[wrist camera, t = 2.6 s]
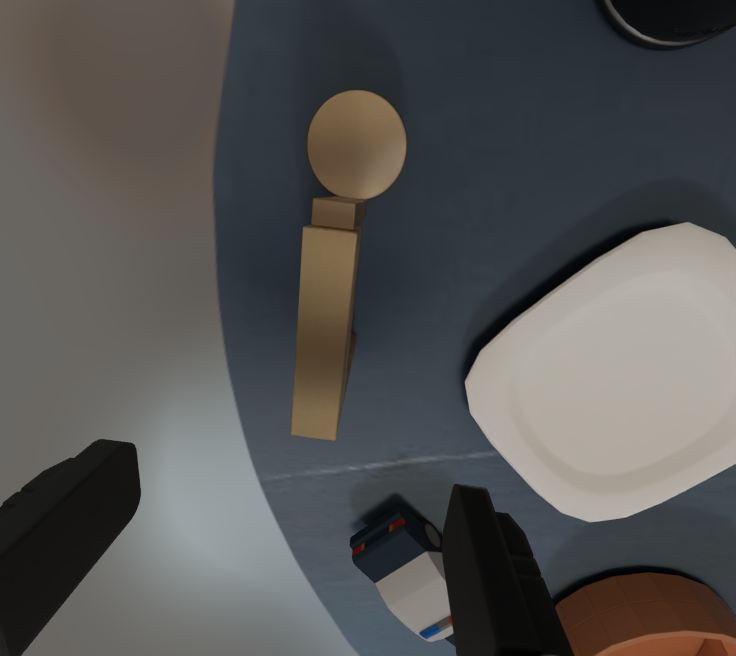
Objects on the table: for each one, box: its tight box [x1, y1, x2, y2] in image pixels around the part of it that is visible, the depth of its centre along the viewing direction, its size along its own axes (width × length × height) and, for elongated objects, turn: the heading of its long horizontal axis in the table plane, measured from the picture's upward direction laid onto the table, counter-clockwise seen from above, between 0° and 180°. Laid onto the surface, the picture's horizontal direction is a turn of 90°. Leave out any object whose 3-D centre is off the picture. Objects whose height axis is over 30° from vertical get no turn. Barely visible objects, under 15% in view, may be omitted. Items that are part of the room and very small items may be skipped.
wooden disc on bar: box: [291, 90, 407, 440], centre depth 19 cm, size 15×5×10 cm, turn 173°
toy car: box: [350, 505, 455, 646], centre depth 30 cm, size 5×16×5 cm, turn 43°
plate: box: [464, 222, 736, 522], centre depth 25 cm, size 18×18×2 cm
